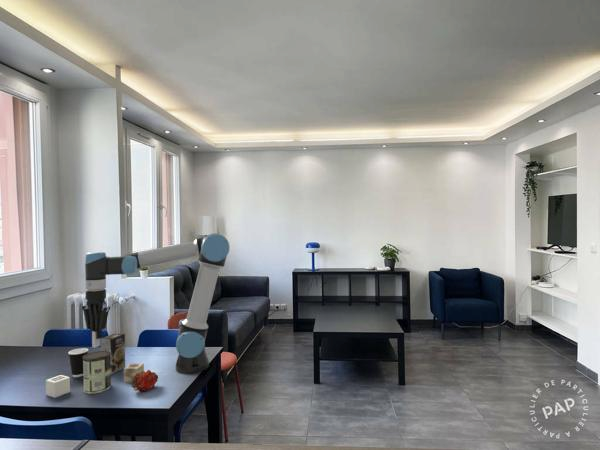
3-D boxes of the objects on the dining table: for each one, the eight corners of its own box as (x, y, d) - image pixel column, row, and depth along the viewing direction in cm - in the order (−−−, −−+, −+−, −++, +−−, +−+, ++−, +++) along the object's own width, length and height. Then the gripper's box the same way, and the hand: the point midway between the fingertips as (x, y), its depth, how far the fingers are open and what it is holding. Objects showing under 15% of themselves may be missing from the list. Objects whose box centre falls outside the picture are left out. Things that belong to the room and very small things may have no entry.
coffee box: (113, 374, 173) (112, 339, 173) (100, 373, 174) (100, 338, 174) (126, 367, 182) (125, 333, 182) (114, 366, 183) (113, 332, 183)
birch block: (143, 376, 170) (143, 363, 170) (137, 382, 164) (137, 368, 164) (130, 376, 170) (130, 363, 170) (123, 382, 164) (123, 368, 164)
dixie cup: (65, 375, 172) (65, 351, 172) (84, 370, 178) (84, 346, 178) (72, 380, 167) (72, 355, 167) (91, 374, 173) (91, 350, 173)
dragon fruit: (129, 399, 151) (155, 392, 161) (141, 390, 148) (167, 383, 158) (124, 378, 155) (149, 373, 165) (135, 369, 152) (161, 364, 162)
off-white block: (69, 391, 155) (69, 376, 155) (54, 398, 150) (54, 382, 150) (61, 389, 158) (60, 374, 158) (46, 395, 153) (45, 379, 153)
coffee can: (102, 381, 165) (102, 349, 165) (116, 386, 160) (115, 353, 160) (78, 390, 157) (77, 356, 157) (91, 396, 151) (91, 360, 151)
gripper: (75, 290, 156) (76, 347, 156) (101, 291, 153) (101, 350, 152) (91, 287, 164) (91, 342, 164) (115, 288, 160) (115, 345, 160)
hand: (96, 346), depth 158 cm, fingers closed
